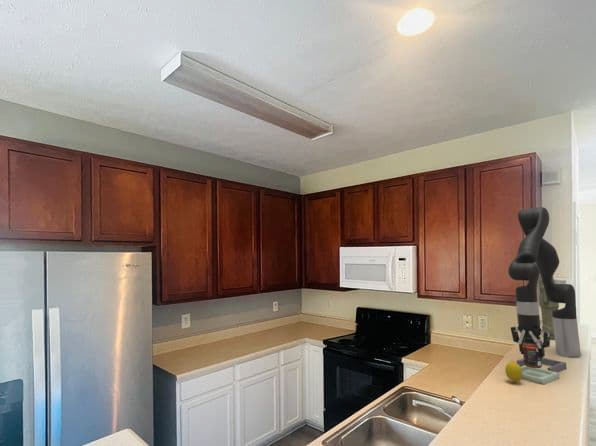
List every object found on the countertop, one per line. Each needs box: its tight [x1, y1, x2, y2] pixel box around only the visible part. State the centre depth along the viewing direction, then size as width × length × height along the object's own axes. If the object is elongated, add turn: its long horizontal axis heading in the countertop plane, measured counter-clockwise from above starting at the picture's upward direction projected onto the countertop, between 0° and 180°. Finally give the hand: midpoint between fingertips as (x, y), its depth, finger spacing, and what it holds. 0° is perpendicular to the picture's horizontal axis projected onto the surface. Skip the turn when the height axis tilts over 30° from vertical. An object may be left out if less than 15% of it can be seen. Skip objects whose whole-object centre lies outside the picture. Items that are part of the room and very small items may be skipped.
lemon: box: [504, 360, 523, 384], centre depth 131 cm, size 6×6×8 cm
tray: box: [521, 365, 560, 386], centre depth 135 cm, size 12×12×2 cm
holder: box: [516, 357, 567, 373], centre depth 146 cm, size 13×13×2 cm
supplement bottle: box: [522, 337, 543, 369], centre depth 136 cm, size 6×6×11 cm
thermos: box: [538, 275, 560, 341], centre depth 194 cm, size 9×12×35 cm
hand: (532, 355), depth 136 cm, fingers closed on supplement bottle, 6 cm apart
